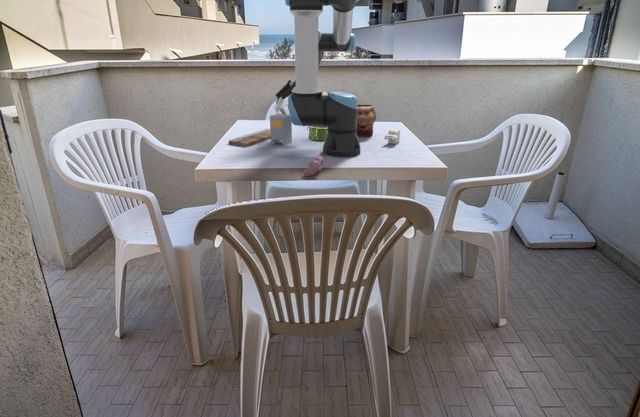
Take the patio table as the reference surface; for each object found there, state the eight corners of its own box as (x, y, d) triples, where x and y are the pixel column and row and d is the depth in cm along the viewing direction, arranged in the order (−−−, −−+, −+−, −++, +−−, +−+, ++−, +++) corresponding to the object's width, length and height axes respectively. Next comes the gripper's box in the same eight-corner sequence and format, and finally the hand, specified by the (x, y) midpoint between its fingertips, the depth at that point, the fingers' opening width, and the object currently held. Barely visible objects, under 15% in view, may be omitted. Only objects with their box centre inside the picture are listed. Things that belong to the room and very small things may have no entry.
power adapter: (392, 147, 174) (393, 133, 172) (381, 146, 176) (382, 132, 174) (400, 142, 183) (401, 128, 181) (390, 140, 185) (391, 127, 183)
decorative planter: (347, 129, 207) (348, 101, 201) (372, 130, 207) (373, 101, 201) (351, 139, 188) (352, 108, 183) (377, 139, 188) (379, 108, 183)
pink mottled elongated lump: (313, 182, 137) (323, 164, 134) (301, 175, 137) (310, 157, 134) (319, 173, 146) (328, 156, 143) (308, 166, 146) (316, 150, 143)
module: (278, 140, 184) (277, 113, 180) (291, 142, 181) (291, 115, 176) (270, 143, 179) (269, 115, 175) (284, 145, 176) (283, 117, 171)
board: (261, 133, 197) (261, 130, 197) (279, 135, 193) (279, 132, 192) (228, 144, 178) (228, 140, 177) (247, 146, 173) (247, 143, 173)
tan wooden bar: (267, 131, 194) (266, 128, 194) (271, 132, 193) (271, 129, 193) (237, 141, 176) (236, 137, 176) (241, 141, 175) (241, 138, 175)
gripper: (333, 81, 186) (316, 120, 180) (286, 78, 197) (269, 114, 191) (327, 69, 180) (310, 109, 173) (280, 67, 191) (262, 104, 184)
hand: (289, 112), depth 182 cm, fingers open, 13 cm apart
